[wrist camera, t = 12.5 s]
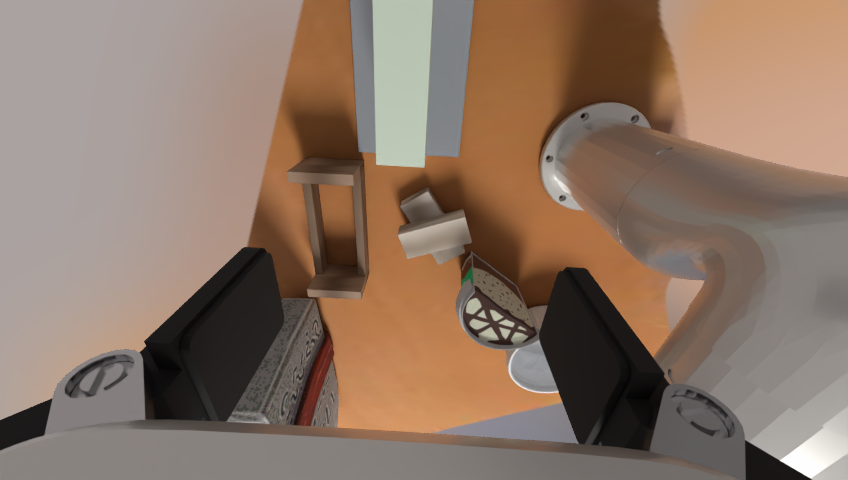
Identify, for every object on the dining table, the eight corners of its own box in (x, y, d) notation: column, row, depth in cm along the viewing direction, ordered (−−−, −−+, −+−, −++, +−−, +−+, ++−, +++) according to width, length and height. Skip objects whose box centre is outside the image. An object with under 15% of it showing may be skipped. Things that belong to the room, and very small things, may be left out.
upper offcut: (399, 225, 41) (397, 235, 39) (463, 208, 39) (465, 217, 37) (408, 249, 42) (407, 258, 40) (469, 233, 41) (471, 242, 39)
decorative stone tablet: (199, 420, 31) (278, 520, 48) (264, 422, 31) (320, 522, 48) (279, 287, 47) (317, 397, 64) (321, 288, 47) (348, 398, 64)
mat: (474, -11, 30) (475, -12, 30) (458, 155, 38) (458, 157, 38) (350, -18, 30) (348, -19, 30) (359, 150, 38) (358, 151, 38)
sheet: (433, 12, 31) (433, -16, 20) (426, 138, 37) (424, 167, 26) (392, 10, 31) (371, -19, 20) (392, 136, 37) (376, 164, 26)
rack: (363, 160, 39) (353, 175, 33) (369, 273, 47) (361, 299, 42) (306, 157, 39) (287, 171, 33) (322, 270, 47) (308, 296, 41)
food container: (434, 272, 46) (435, 320, 38) (463, 245, 44) (470, 289, 35) (494, 314, 50) (507, 366, 41) (523, 290, 48) (544, 341, 39)
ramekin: (599, 312, 50) (622, 347, 43) (553, 365, 56) (567, 402, 49) (524, 287, 47) (538, 320, 41) (485, 345, 54) (491, 380, 47)
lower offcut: (428, 184, 41) (427, 191, 38) (463, 243, 45) (465, 252, 42) (401, 199, 42) (400, 206, 39) (438, 255, 46) (439, 264, 44)
